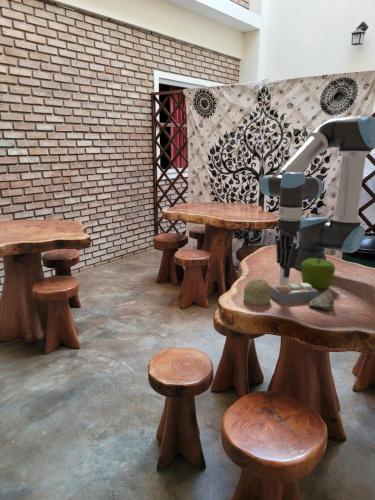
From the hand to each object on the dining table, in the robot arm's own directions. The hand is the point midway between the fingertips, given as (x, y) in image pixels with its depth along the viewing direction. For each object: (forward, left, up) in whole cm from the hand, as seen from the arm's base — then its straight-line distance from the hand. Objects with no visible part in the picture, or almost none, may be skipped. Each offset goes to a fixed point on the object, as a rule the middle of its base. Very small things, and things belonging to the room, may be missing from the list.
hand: (283, 285), depth 127 cm
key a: (-9, 0, -3) cm, 9 cm away
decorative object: (+9, -1, -6) cm, 11 cm away
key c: (0, 0, -3) cm, 3 cm away
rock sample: (-9, +10, -6) cm, 15 cm away
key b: (-5, 0, -3) cm, 5 cm away
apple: (-20, -8, -6) cm, 22 cm away
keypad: (-5, 0, -5) cm, 7 cm away
